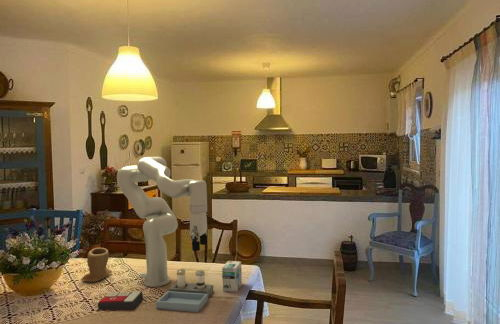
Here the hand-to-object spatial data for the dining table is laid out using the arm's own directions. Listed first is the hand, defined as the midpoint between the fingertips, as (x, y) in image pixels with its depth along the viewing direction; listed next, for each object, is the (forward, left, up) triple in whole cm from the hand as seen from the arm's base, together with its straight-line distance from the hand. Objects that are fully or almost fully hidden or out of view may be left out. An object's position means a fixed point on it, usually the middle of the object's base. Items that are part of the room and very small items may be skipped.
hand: (200, 247), depth 171 cm
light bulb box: (+11, +10, -21) cm, 26 cm away
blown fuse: (0, 0, -21) cm, 21 cm away
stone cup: (-58, +11, -21) cm, 62 cm away
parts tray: (-4, -12, -21) cm, 24 cm away
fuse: (-9, 0, -21) cm, 23 cm away
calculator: (-30, -16, -21) cm, 40 cm away
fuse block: (-5, 0, -21) cm, 21 cm away
